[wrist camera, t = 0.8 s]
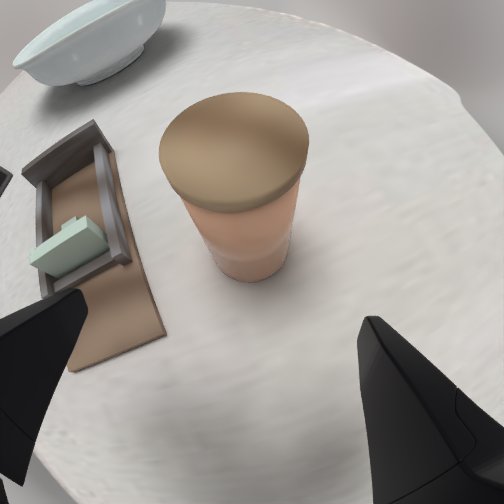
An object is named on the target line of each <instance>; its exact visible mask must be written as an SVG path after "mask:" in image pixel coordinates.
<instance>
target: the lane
mask: <svg viewBox="0 0 504 504" xmlns="http://www.w3.org/2000/svg"><path fill="white" fill-rule="evenodd" d="M21 174H22V175H23V176H24V177H25V178H26V179H27V180H28V181H29V182H30V183H31V184H32V185H33V186H34V187H35V188H37V189H36V248H37V247H38V246H39V245H41V244H42V243H44V242H45V241H47V240H48V239H50V238H51V237H52V236H54V235H55V234H57V233H58V232H60V231H61V230H62V228H61V225H63V224H64V223H66V222H67V221H69V220H70V219H72V218H74V217H75V216H76V217H78V218H79V219H80V218H82V217H84V216H85V215H86V216H87V217H88V218H89V219H91V220H92V221H93V222H94V223H95V224H96V225H97V226H98V227H100V228H101V229H102V230H103V231H104V232H105V233H106V234H107V239H108V243H109V248H110V251H108V252H106V253H104V254H102V255H101V256H99V257H97V258H95V259H93V260H92V261H90V262H88V263H86V264H85V265H83V266H81V267H79V268H78V269H76V270H74V271H72V272H71V273H69V274H67V275H66V276H64V277H62V278H61V279H58V278H56V277H54V276H52V275H50V274H48V273H46V272H44V271H42V270H40V269H38V274H39V283H40V291H41V298H43V299H45V298H47V297H49V296H51V295H54V294H56V293H58V292H61V291H63V290H65V289H67V288H70V287H74V288H79V289H81V290H82V292H83V295H84V298H85V300H86V303H87V306H88V316H87V318H86V320H85V323H84V325H83V327H82V330H81V332H80V335H79V337H78V340H77V343H76V345H75V348H74V350H73V352H72V354H71V356H70V358H69V361H68V363H67V367H68V371H69V372H76V371H79V370H81V369H84V368H86V367H89V366H91V365H94V364H97V363H99V362H102V361H104V360H107V359H109V358H112V357H114V356H117V355H119V354H121V353H124V352H126V351H129V350H131V349H133V348H136V347H138V346H141V345H143V344H145V343H148V342H150V341H152V340H155V339H157V338H159V337H162V336H164V335H166V331H165V328H164V326H163V323H162V321H161V318H160V315H159V313H158V310H157V307H156V305H155V302H154V299H153V296H152V293H151V290H150V288H149V285H148V282H147V279H146V276H145V272H144V269H143V266H142V263H141V260H140V257H139V253H138V250H137V246H136V243H135V240H134V236H133V232H132V229H131V225H130V221H129V217H128V214H127V210H126V206H125V201H124V197H123V193H122V188H121V184H120V179H119V175H118V170H117V165H116V160H115V154H114V150H113V148H112V147H111V145H110V144H109V142H108V141H107V139H106V138H105V136H104V135H103V133H102V132H101V130H100V128H99V127H98V125H97V124H96V122H95V121H94V119H93V120H91V121H89V122H88V123H86V124H84V125H83V126H81V127H80V128H78V129H76V130H75V131H73V132H72V133H70V134H69V135H67V136H66V137H64V138H63V139H61V140H60V141H58V142H57V143H55V144H54V145H53V146H51V147H50V148H48V149H47V150H46V151H44V152H43V153H42V154H40V155H39V156H38V157H36V158H35V159H34V160H32V161H31V162H30V163H29V164H27V165H26V166H25V167H24V168H23V169H22V173H21Z"/></svg>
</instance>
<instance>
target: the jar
mask: <svg viewBox="0 0 504 504" xmlns="http://www.w3.org/2000/svg"><path fill="white" fill-rule="evenodd" d="M308 146H309V135H308V131H307V127H306V125H305V123H304V121H303V120H302V118H301V117H300V116H299V114H298V113H297V112H296V111H295V110H293V109H292V108H291V107H290V106H288V105H287V104H285V103H284V102H282V101H280V100H278V99H275V98H272V97H270V96H266V95H262V94H257V93H247V92H235V93H226V94H221V95H217V96H213V97H210V98H207V99H204V100H202V101H200V102H197V103H195V104H194V105H192V106H190V107H188V108H187V109H186V110H184V111H183V112H181V113H180V114H179V115H178V116H177V117H176V118H175V119H174V120H173V121H172V122H171V123H170V125H169V126H168V127H167V129H166V130H165V132H164V134H163V136H162V139H161V141H160V146H159V161H160V164H161V167H162V170H163V172H164V173H165V175H166V177H167V179H168V181H169V183H170V185H171V186H172V188H173V189H174V190H175V192H176V193H177V194H178V195H179V196H180V197H181V199H182V201H183V203H184V205H185V207H186V208H187V210H188V212H189V214H190V216H191V218H192V220H193V222H194V224H195V225H196V227H197V229H198V231H199V233H200V235H201V236H202V238H203V240H204V242H205V244H206V246H207V247H208V249H209V251H210V253H211V255H212V257H213V258H214V260H215V262H216V264H217V265H218V267H219V268H220V269H221V271H223V272H224V273H225V274H226V275H227V276H229V277H231V278H233V279H235V280H238V281H242V282H256V281H261V280H264V279H266V278H268V277H270V276H272V275H273V274H274V273H276V272H277V271H278V270H279V269H280V268H281V266H282V265H283V263H284V261H285V259H286V256H287V253H288V247H289V242H290V236H291V231H292V225H293V219H294V213H295V207H296V201H297V195H298V189H299V183H300V176H301V174H302V172H303V170H304V167H305V164H306V159H307V153H308Z"/></svg>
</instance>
